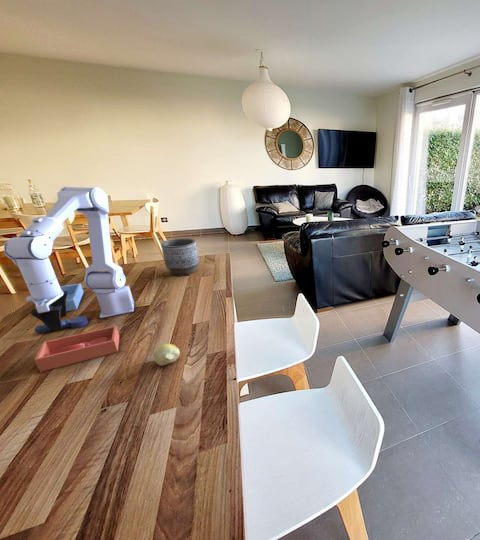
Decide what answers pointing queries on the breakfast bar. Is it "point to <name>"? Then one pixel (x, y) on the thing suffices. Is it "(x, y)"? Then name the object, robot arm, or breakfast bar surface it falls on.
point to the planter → (180, 255)
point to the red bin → (73, 356)
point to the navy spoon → (65, 324)
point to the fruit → (166, 354)
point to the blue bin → (73, 296)
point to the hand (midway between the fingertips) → (59, 322)
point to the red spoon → (79, 345)
